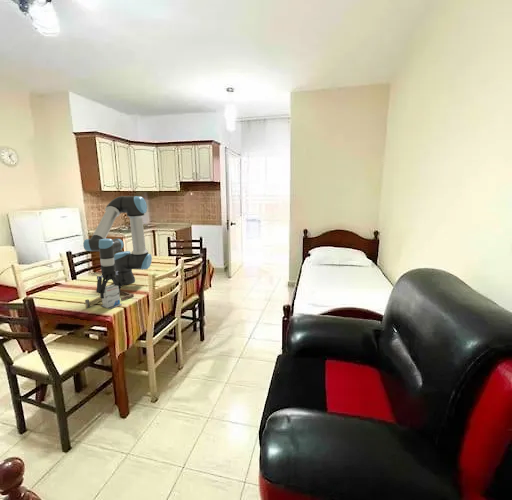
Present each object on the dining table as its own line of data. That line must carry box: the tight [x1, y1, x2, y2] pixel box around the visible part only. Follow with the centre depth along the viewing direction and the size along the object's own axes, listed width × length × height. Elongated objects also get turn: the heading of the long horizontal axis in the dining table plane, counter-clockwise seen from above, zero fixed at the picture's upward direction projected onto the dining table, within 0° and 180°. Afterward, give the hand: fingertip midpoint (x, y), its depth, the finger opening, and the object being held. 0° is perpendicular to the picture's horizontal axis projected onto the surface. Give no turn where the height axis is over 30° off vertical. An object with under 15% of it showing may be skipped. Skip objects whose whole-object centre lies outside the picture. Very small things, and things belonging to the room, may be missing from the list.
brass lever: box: [84, 296, 102, 309], centre depth 189 cm, size 3×19×4 cm, turn 166°
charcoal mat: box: [100, 303, 123, 310], centre depth 186 cm, size 8×9×1 cm
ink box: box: [102, 284, 121, 309], centre depth 184 cm, size 8×5×12 cm, turn 147°
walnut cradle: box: [119, 289, 135, 302], centre depth 198 cm, size 13×14×5 cm
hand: (111, 300), depth 185 cm, fingers closed on ink box, 8 cm apart
